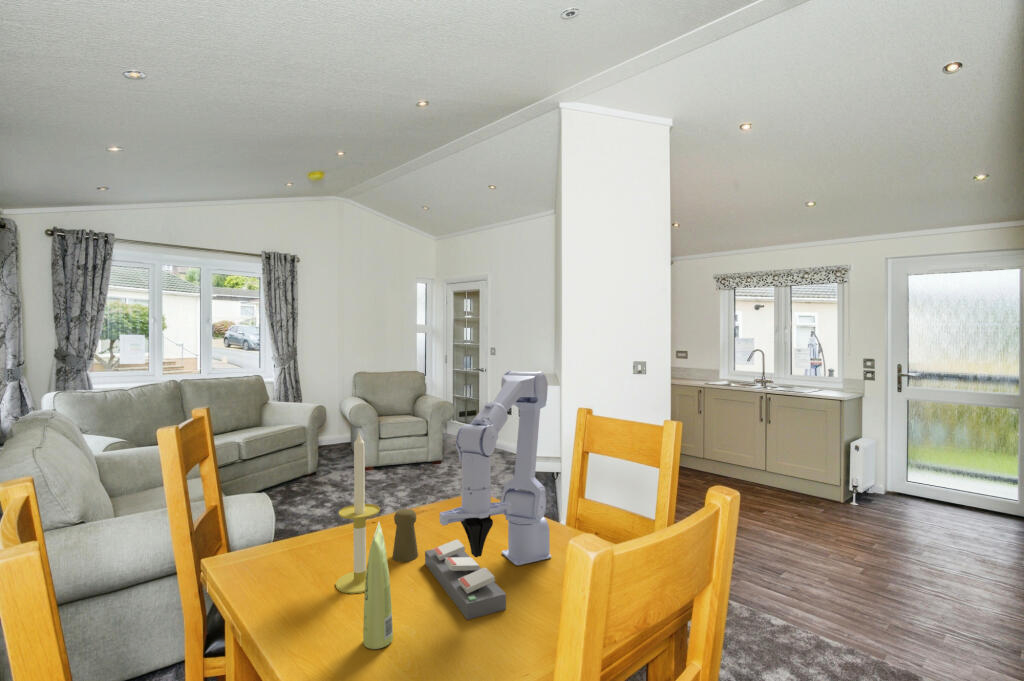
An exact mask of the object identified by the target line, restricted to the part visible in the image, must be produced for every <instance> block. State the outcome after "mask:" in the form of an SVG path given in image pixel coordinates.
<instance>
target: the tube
mask: <svg viewBox="0 0 1024 681" xmlns="http://www.w3.org/2000/svg"><path fill="white" fill-rule="evenodd" d="M388 564H389V563H388V557H387V550H386V542H385V538H384V533H383V529H382V526H381V523H380V521H378V523H377V526H376V530H375V532H374V535H373V538H372V541H371V544H370V548H369V552H368V559H367V563H366V570H367V572H366V582H365V592H364V600H363V601H364V602H363V636H362V638H363V645H364V646H365V647H366V648H368V649H370V650H378V649H382V648H384V647H387V646H388V645H390V644H391V643H392V641H393V640H394V638H393V636H394V634H393V633H394V632H393V611H392V610H393V609H392V608H393V607H392V606H393V604H392V595H391V594H392V593H391V582H390V570H389V565H388Z"/></svg>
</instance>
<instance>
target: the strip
mask: <svg viewBox="0 0 1024 681" xmlns="http://www.w3.org/2000/svg"><path fill="white" fill-rule="evenodd" d="M433 549H434V548H431V549H429V550H424V564H425V565H426V567H427V568H428V570H429V571H430V572H431V574H432V575H433V576H434V578H435V579H436V580H437V582H438V583H439V585H440V586H441V587H442V588H443V590H444V591H445V592H446V595H448V596H449V598H450V599H451V600H452V602H453V603H454V604H455V606H456V608H458V610H459V611H460V613H461V614H462V616H464V618H465V619H466V620H467V621H468V620H473V619H476V618H480V617H484V616H486V615H491V614H494V613H497V612H501V611H505V610H506V611H507V594H506V592H505V591H504V590H503V589H502V588H501V587H500V586H499V585H498V584H497V583H496V582H495V581H494V582H492V583H490V584H488V585H485V586H483V587H481V588H479V589H477V590H474V591H472V592H470V593H468V594H467V593H466V592H465V590H464V589H463V588H462V587H461V586H460V584H459V581H458V579H459V578H462V577H464V576H466V575H468V574H471V573H473V572H475V571H477V570H465V571H452V570H451V569H450V568H449V567H448V566H447V564H446V563H445V559H443V560H441V561H440V560H439V559H438V558H437V556H436V555H435V554H434V552H433ZM450 557H471V556H470V555H469V554H467V552H466V551H462V552H460V553H457V554H455V555H453V556H450ZM480 569H482V567H480V566H479V569H478V570H480Z"/></svg>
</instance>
